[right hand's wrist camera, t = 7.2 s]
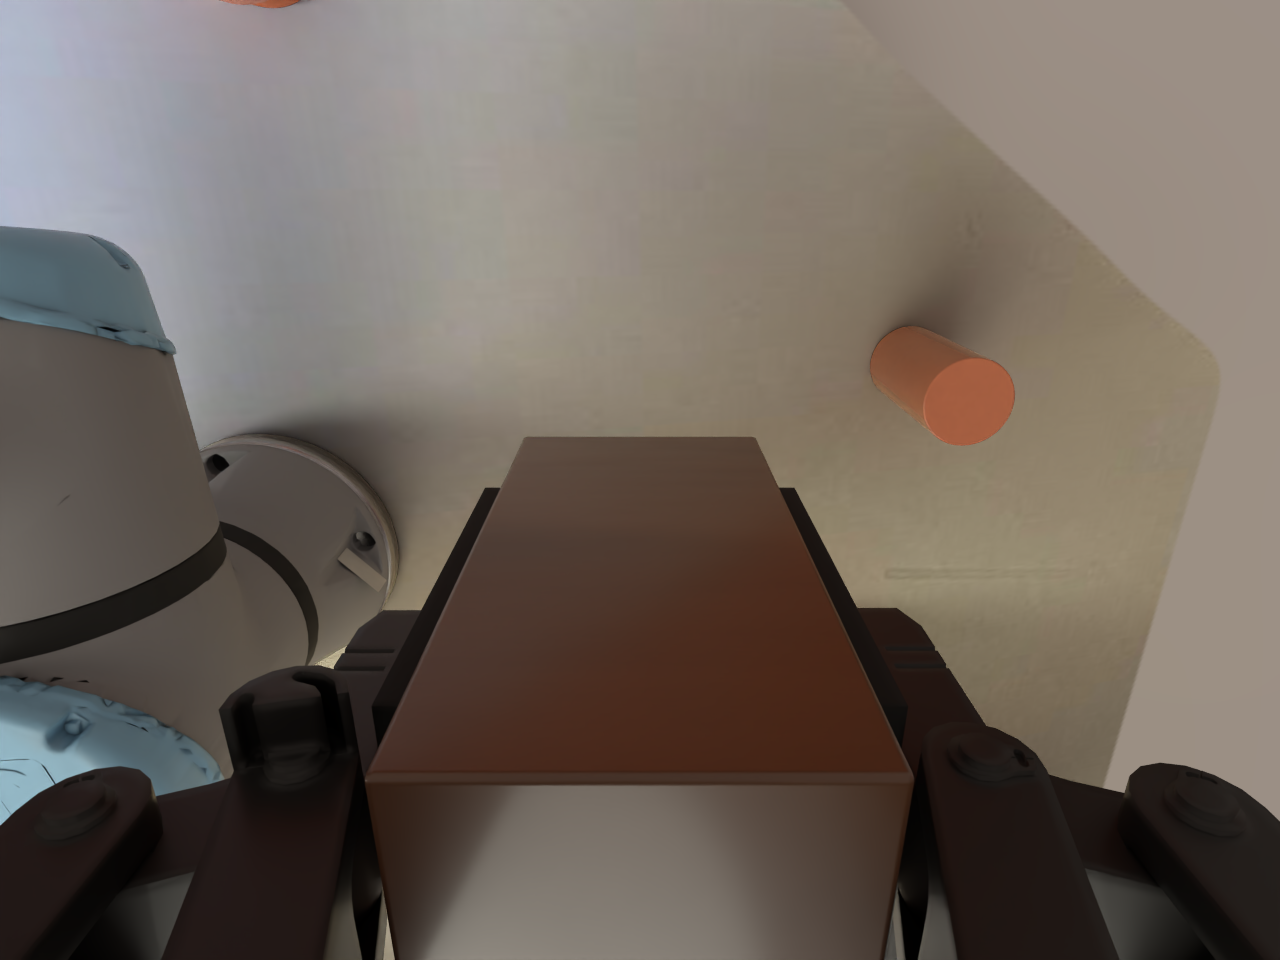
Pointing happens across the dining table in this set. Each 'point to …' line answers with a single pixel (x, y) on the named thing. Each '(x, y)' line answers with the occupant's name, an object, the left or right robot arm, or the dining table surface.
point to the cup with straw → (264, 2)
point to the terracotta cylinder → (943, 385)
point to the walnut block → (639, 729)
